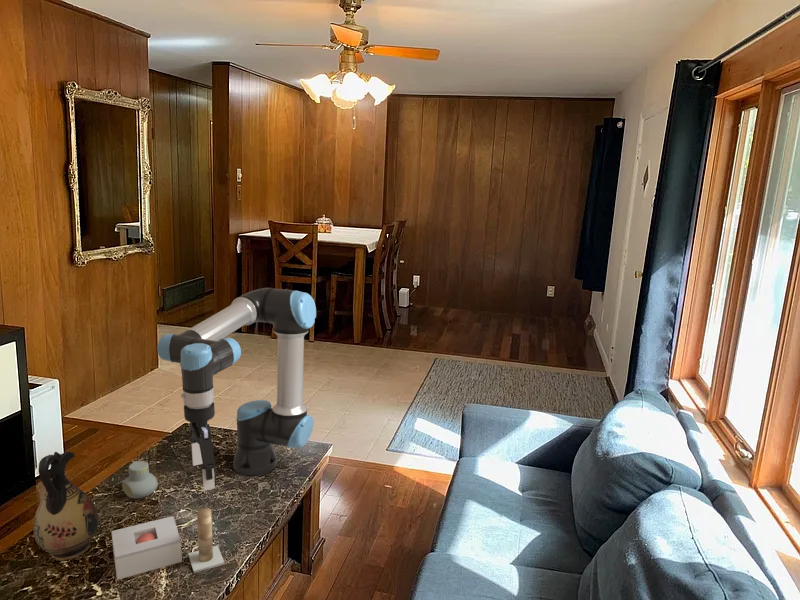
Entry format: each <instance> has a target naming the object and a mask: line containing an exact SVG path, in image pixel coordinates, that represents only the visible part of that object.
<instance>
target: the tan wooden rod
mask: <svg viewBox="0 0 800 600" xmlns="http://www.w3.org/2000/svg"><path fill="white" fill-rule="evenodd" d="M196 517H197V518H196V519H197V521H196V522H197V537H198V538H197V542H198V551H199V560H200V561H202V562H208V561H210V560H211V559H212V558H213V546H214V545H213V525H212V522H213V521H212V510H211V509H210V508H207V507H204V508H203V507H202V508H200V509H199V510H198V511H196Z"/></svg>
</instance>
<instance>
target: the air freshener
mask: <svg viewBox="0 0 800 600" xmlns="http://www.w3.org/2000/svg"><path fill="white" fill-rule="evenodd" d="M149 465H150V464H149V463H148V462H146V461H143V460H141V461H135V462H132V463H131V464H129V466H128V476H127V477H126V478H125V479H124V480H123V482H122V484H121V487H122V490H123V492H124V494H125V495H126V496H127V497H128V498H129V499H130V498H131V499H141V498H146V497H148V496H150V495H151V494H153V493H154V492H155V491H156V490H157V488H158V486H159V485H158V484H159V483H158V479H157V478H156V477H155V475H154V474H153V473H151V472H150V467H149Z"/></svg>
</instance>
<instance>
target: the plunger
mask: <svg viewBox="0 0 800 600" xmlns="http://www.w3.org/2000/svg"><path fill="white" fill-rule="evenodd" d="M154 539H155V536H154V535H153V534H150V533H147V534H143V535H141V536H139V537H138V539H137V544H138V543H142V542H146V541H150V540H154Z"/></svg>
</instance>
